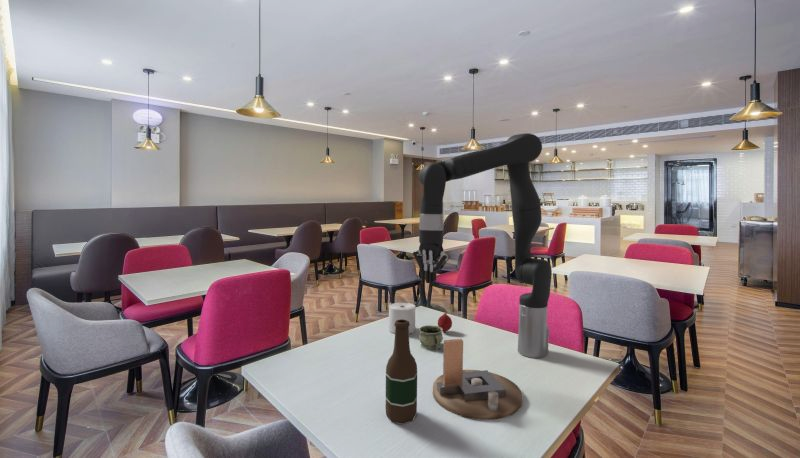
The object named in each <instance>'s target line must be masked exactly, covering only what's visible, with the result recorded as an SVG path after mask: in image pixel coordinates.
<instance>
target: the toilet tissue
mask: <svg viewBox="0 0 800 458" xmlns="http://www.w3.org/2000/svg"><path fill="white" fill-rule="evenodd" d="M401 319H403V320H407V321H409V324H410V325H409V335H410V334H412V333H414V332H416V305H415V304H413V303H410V302H395V303H392V302H391V301H390V302H389V304H388V331H389V332H390V333H392V334H395V326H394V324H395V322H396V321H397V320H401Z"/></svg>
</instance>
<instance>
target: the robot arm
mask: <svg viewBox="0 0 800 458" xmlns="http://www.w3.org/2000/svg"><path fill="white" fill-rule="evenodd" d="M542 151H543V144H542V141H541V139H540V138H539V137H538V136H537V135H536V134H533V133H519V134H513V135H511V136H509V137H508V138H507V140H506V141H505V144H502V145H498V146H494V147H490V148H486V149H481V150H476V151H471V152H468V153H464V154H461V155H456V156H454V157H451V158H449V159H447V160H442V161H439V162H434V163H433V162H432V163H428V164H426V165H424V166H423V167H422V168H421V169H420V171H419V173H418V179H419V182H420V183H421V184H422V185H423V191H422V192H423V193H422V196H421V198H420V206H419V207H420V209H419V210H420V215H419V223H418V224H419V226H418V229H419V230H418V232H419V233H418V238H419V239H418V242H419V247H418V250H416V251H413V252H412V255H413V257H414V258H415V261H416V263H417V265H418V266H419V267H418V268H420V269H422V270H424V280H425V283H426V284H434V283H435V282H436V281H437V271H441V270H442V269H443V268H444V266H445V265H446V264H447V263H448V261H449V259H450V258H451V257H450V254H447V253H445V251H444V247H443V244H444V201H443V200H444V195H445V190H446V183H447V182H451V181H454V180H460V179H463V178H464V179H465V178H467V177H469V176H470V177H472V176H473V175H476V174H480V173H483V172H486V171H489V170H493V169H496V168H500V167H503V166H506V169H507V174H508V180H509V190H510V200H511V202H510V203H511V214H512V215H511V216H512V222H513V232H514V234H513V235H514V274H515V276H516V279H517V281H518V282H520V283H522V284H526V285H529V286H532V289H531V290H532V291H531V292H527V293H522V294H521V295H520V296H519V303H518V304H519V307H518V309H519V310H518V334H517V336H518V337H517V352H518V353H519V354H520V355H521V356H525V357H526V358H527V357H528V358H533V359H534V358H535V359H537V358H543V357H546V355H549V338H550V337H549V336H550V327H549V326H548V303H549V299H550V294H551V284H552V283H551V282H552V271H553V270H552V266H551V263H550V262H549V261H547V260H545V259H541V258H534V257H532V253H531V252H532V251H531V250H532V248H531V245H532V242H533V239H534V237H535V236H536V235H537V232H538V230H539V228H540V226H541V224H542V219H543V218H542V217H543V216H542V208H541V200H540V197H539V193H538V192H537V189H536V188H535V185H534V183H533V182H532V178H531V175H530V164H529V163H531V162H533V161H536V159H538V158H539V156H540V155H541V153H542Z"/></svg>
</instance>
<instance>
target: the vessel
mask: <svg viewBox="0 0 800 458" xmlns="http://www.w3.org/2000/svg"><path fill="white" fill-rule="evenodd" d="M418 330H419V335H418V340H419V343H420V344H419V345H420V346H419V347H421V348H422V349H424V350H428V349H429V351H431V350H433V351H435V350H438V348H439V349H440V348H441V347H442V345H441V343H442V342H443V338H444V337H443V334H442V333H443V331H442V330H443V329H442V328H441V327H438V325H430V324H429V325H428V324H427V325H423V326H420V327H419V328H418ZM434 349H435V350H434Z"/></svg>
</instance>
